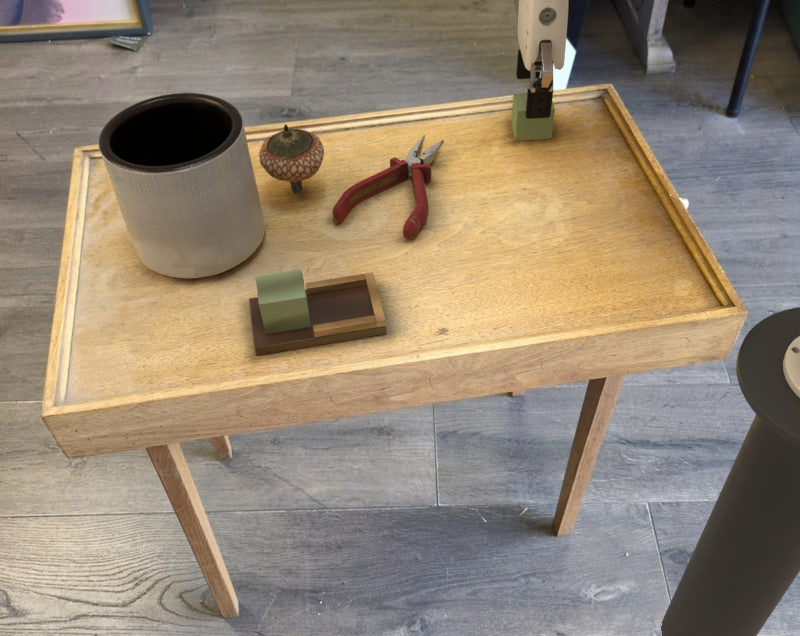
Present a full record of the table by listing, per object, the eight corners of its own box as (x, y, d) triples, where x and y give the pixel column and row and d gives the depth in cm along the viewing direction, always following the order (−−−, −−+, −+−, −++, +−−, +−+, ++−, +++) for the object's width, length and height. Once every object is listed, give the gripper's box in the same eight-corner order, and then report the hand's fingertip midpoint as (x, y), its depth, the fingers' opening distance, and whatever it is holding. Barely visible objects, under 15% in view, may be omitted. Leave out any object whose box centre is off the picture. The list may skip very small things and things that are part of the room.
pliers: (473, 154, 112) (473, 137, 110) (413, 244, 101) (413, 227, 99) (395, 138, 116) (394, 121, 114) (329, 223, 104) (327, 206, 102)
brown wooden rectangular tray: (387, 334, 91) (384, 295, 87) (256, 355, 90) (246, 318, 86) (374, 286, 96) (371, 247, 92) (250, 306, 95) (241, 267, 91)
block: (511, 122, 117) (513, 93, 114) (546, 120, 117) (550, 91, 114) (515, 141, 114) (517, 111, 111) (551, 139, 114) (554, 109, 111)
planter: (121, 227, 106) (80, 116, 94) (239, 187, 110) (214, 76, 98) (159, 302, 96) (119, 189, 84) (287, 255, 101) (266, 142, 89)
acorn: (296, 166, 112) (285, 98, 105) (342, 188, 109) (334, 119, 101) (253, 196, 108) (238, 128, 101) (299, 220, 105) (288, 150, 97)
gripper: (590, -3, 93) (571, 132, 107) (565, -68, 104) (550, 62, 118) (523, 0, 93) (512, 135, 107) (505, -65, 104) (497, 65, 118)
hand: (532, 96), depth 112 cm, fingers open, 9 cm apart
